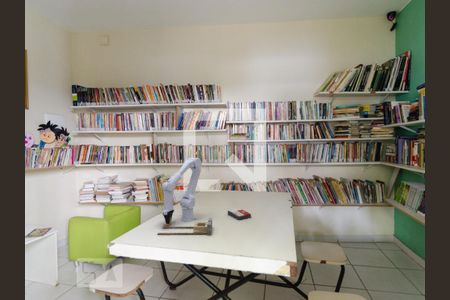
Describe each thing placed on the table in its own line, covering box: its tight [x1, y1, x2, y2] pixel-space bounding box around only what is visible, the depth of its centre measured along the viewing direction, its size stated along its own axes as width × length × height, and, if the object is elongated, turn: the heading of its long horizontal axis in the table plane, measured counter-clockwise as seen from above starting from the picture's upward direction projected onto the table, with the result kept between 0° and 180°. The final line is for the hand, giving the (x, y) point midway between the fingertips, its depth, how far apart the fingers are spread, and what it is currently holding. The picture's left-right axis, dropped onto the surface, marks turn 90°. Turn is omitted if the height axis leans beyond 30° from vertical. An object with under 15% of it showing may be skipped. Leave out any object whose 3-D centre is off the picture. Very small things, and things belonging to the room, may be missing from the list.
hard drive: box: [227, 208, 252, 221], centre depth 152 cm, size 11×4×15 cm
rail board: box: [157, 217, 213, 237], centre depth 121 cm, size 12×30×7 cm, turn 90°
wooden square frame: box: [192, 221, 208, 233], centre depth 121 cm, size 8×8×4 cm
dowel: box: [165, 218, 172, 227], centre depth 131 cm, size 3×3×8 cm
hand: (168, 222), depth 131 cm, fingers closed on dowel, 3 cm apart
